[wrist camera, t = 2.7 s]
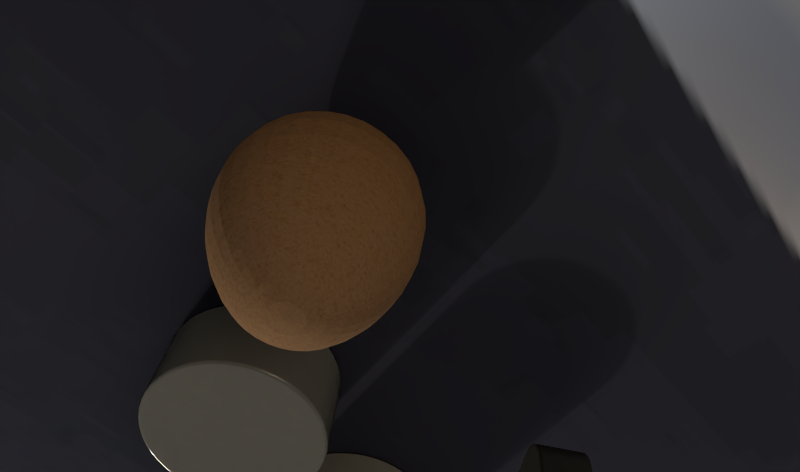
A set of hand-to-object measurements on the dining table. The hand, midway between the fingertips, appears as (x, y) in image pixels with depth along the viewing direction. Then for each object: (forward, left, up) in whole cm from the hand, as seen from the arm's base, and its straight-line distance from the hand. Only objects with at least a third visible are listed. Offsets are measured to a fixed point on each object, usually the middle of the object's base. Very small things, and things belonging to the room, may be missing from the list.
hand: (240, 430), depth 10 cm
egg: (0, 0, -9) cm, 9 cm away
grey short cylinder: (+6, +4, -9) cm, 11 cm away
